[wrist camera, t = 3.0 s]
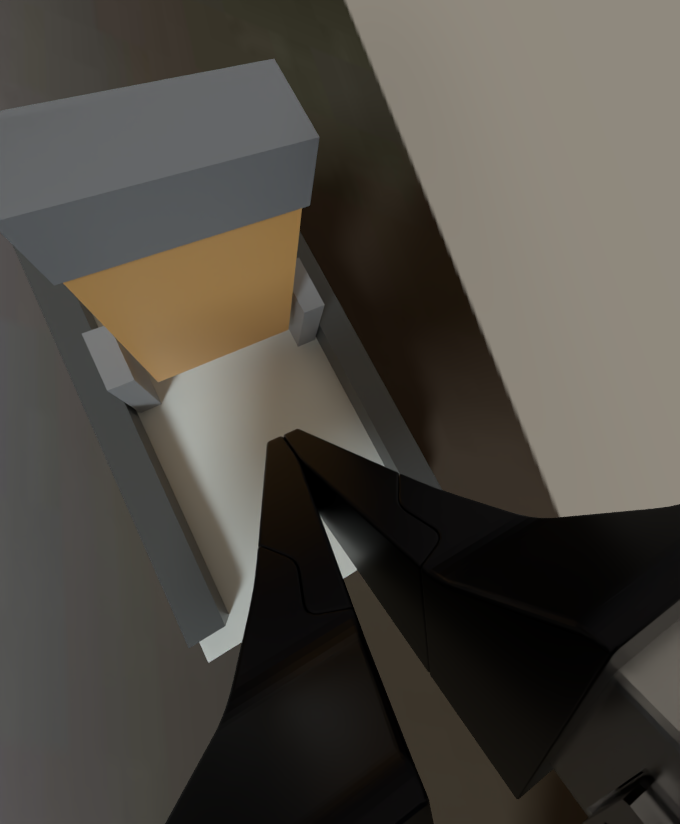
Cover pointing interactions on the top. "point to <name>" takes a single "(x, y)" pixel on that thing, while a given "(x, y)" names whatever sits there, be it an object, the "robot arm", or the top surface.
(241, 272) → the lever
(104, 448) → the tray
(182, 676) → the top surface
